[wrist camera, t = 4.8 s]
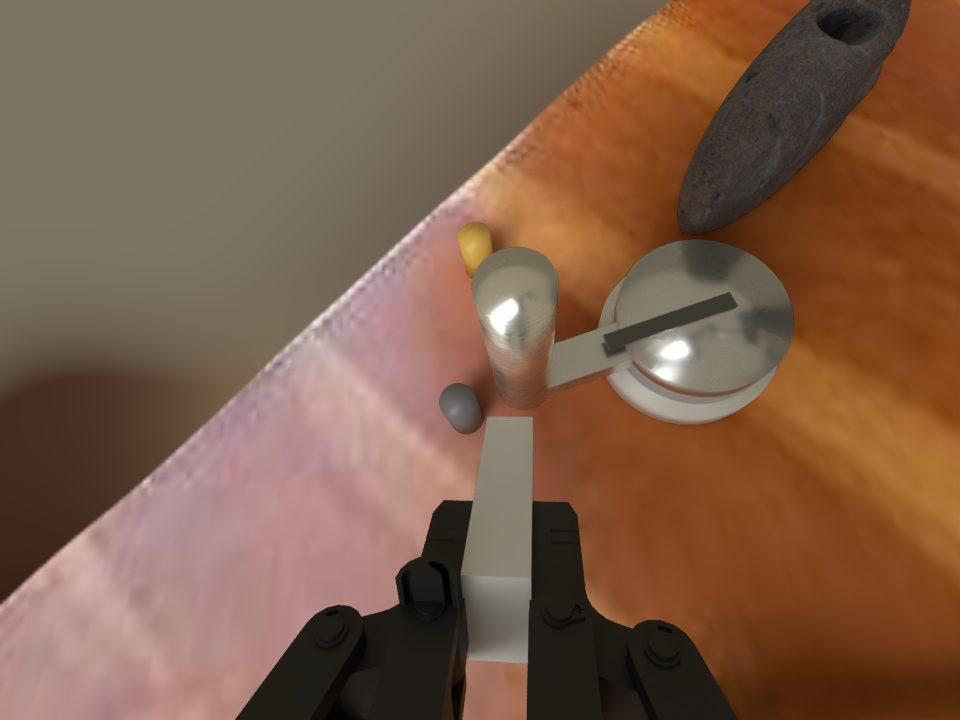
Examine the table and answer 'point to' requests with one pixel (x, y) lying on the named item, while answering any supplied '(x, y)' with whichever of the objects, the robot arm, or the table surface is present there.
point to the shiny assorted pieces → (469, 417)
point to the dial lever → (638, 325)
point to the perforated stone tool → (787, 107)
